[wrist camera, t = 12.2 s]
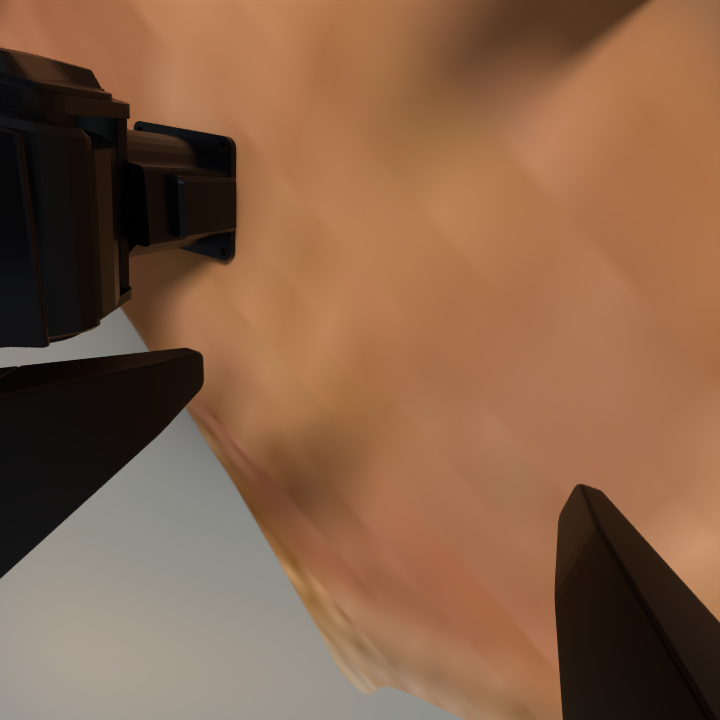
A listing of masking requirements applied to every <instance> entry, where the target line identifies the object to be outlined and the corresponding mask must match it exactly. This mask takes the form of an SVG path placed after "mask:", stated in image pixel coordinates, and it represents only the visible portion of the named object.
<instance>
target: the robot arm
mask: <svg viewBox="0 0 720 720" xmlns="http://www.w3.org/2000/svg"><path fill="white" fill-rule="evenodd" d="M127 119H130V104H128V103H125V102H122V101H120V100H117V99H114V98H112V94H111V93H108V92H106V91H104V89H102V88H101V86H100V85H99V83H98V81H97V79H96V78H95V76H94V74H93V72H92V71H91V70H89V69H86V68H83V67H80V66H76V65H72V64H69V63H65V62H61V61H57V60H54V59H50V58H46V57H42V56H38V55H34V54H30V53H26V52H21V51H15V50H10V49H5V48H0V348H2V347H35V348H37V347H38V348H44V347H47V346H49V343H52V342H57V341H62V340H66V339H69V338H72V337H75V336H77V335H79V334H80V333H83V332H86V331H89V330H92V329H94V328H95V327H97V326H99V325H100V320H101V319H103V318H104V317H105V316H107V315H108V314H110V313H111V312H112V311H114V310H115V309H117V308H118V307H120V306H121V305H123V304H124V303H125V302H127V301H128V300H130V299H131V298H132V288H131V287H130V286H129V257H132V256H137V255H142V254H148V253H153V252H158V251H164V250H169V249H174V248H180V249H184V250H188V251H191V252H195V253H199V254H203V255H206V256H210V257H214V258H217V259H221V260H229V259H232V258H233V257H234V255H235V228H236V145H235V142H234V141H233V140H232V138H230V137H226V136H221V135H215V134H209V133H204V132H198V131H193V130H187V129H181V128H176V127H170V126H164V125H159V124H153V123H148V122H142V121H137V122H136V123H135V125H134V130H128V129H127ZM143 129H144V132H143ZM225 143H226V144H227V147H228V148H227V151H225V149H224V145H225ZM225 248H226V250H227V254H226V253H225V251H224V249H225ZM203 382H204V369H203V356H202V354H201V353H200V352H198V351H195V350H192V349H189V348H179V349H170V350H161V351H152V352H144V353H134V354H124V355H115V356H106V357H97V358H88V359H78V360H69V361H60V362H51V363H42V364H33V365H24V366H20V367H17V366H14V367H5V368H0V578H2V577H3V576H4V575H5V574H6V573H7V572H8V571H9V570H10V569H12V568H13V567H14V566H15V565H16V564H17V563H18V562H19V561H20V560H21V559H23V558H24V557H25V556H26V555H27V554H28V553H29V552H30V551H31V550H33V549H34V548H35V547H36V546H37V545H38V544H39V543H40V542H41V541H42V540H44V539H45V538H46V537H47V536H48V535H49V534H50V533H51V532H52V531H53V530H55V529H56V528H57V527H58V526H59V525H60V524H61V523H62V522H63V521H64V520H65V519H67V518H68V517H69V516H70V515H71V514H72V513H73V512H74V511H75V510H77V509H78V508H79V507H80V506H81V505H82V504H83V503H84V502H85V501H87V500H88V499H89V498H90V497H91V496H92V495H93V494H94V493H95V492H96V491H97V490H99V489H100V488H101V487H102V486H103V485H104V484H105V483H106V482H107V481H108V480H110V479H111V478H112V477H113V476H114V475H115V474H116V473H117V472H118V471H120V470H121V469H122V468H123V467H124V466H125V465H126V464H127V463H128V462H129V461H131V460H132V459H133V458H134V457H135V456H136V455H137V454H138V453H139V452H140V451H142V450H143V449H144V448H145V447H146V446H147V445H148V444H149V443H150V442H151V441H153V440H154V439H155V438H156V437H157V436H158V435H159V434H160V433H161V432H162V431H163V430H164V429H165V428H166V427H167V426H168V425H169V424H170V423H171V421H172V420H173V419H174V418H175V417H176V416H177V415H178V413H180V412H181V410H182V409H183V408H184V407H185V406H186V405H187V404H188V403H189V402H190V401H191V399H192V398H193V397H194V396H195V395H196V394H197V393H198V392H199V391H200V389H201V388H202V386H203ZM555 614H556V628H557V643H558V657H559V672H560V686H561V701H562V715H563V720H720V622H719V621H718V620H717V619H716V618H715V617H714V615H713V614H712V613H711V612H710V611H709V610H708V609H707V608H706V607H705V605H704V604H703V603H702V602H701V601H700V600H699V599H698V598H697V597H696V595H695V594H694V593H693V592H692V591H691V590H690V589H689V588H688V586H687V585H686V584H685V583H684V582H683V581H682V580H681V579H680V578H679V576H678V575H677V574H676V573H675V572H674V571H673V570H672V569H671V568H670V566H669V565H668V564H667V563H666V562H665V561H664V560H663V559H662V558H661V556H660V555H659V554H658V553H657V552H656V551H655V550H654V549H653V548H652V546H651V545H650V544H649V543H648V542H647V541H646V540H645V539H644V538H643V536H642V535H641V534H640V533H639V532H638V531H637V530H636V529H635V528H634V526H633V525H632V524H631V523H630V522H629V521H628V520H627V519H626V518H625V516H624V515H623V514H622V513H621V512H620V511H619V510H618V509H617V508H616V506H615V505H614V504H613V503H612V502H611V501H610V500H609V499H608V498H607V496H606V495H605V494H604V493H603V492H602V491H600V490H599V489H596V488H593V487H590V486H587V485H584V484H578V485H576V486H575V488H574V489H573V491H572V493H571V495H570V496H569V498H568V500H567V502H566V504H565V506H564V507H563V509H562V511H561V513H560V516H559V521H558V535H557V553H556V571H555Z"/></svg>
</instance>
